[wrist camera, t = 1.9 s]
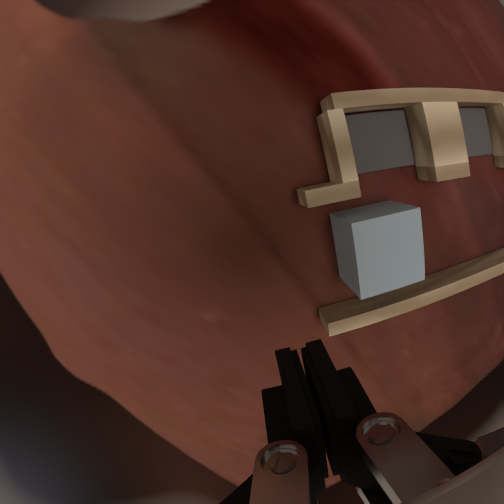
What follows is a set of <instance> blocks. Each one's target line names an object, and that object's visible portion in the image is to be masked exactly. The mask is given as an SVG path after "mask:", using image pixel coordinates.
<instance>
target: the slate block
mask: <svg viewBox="0 0 504 504" xmlns="http://www.w3.org/2000/svg"><path fill="white" fill-rule="evenodd" d="M329 214H330V220H331V225H332V231H333V237H334V243H335V249H336V256H337V262H338V269H339V276H340V278H341V279H342V280H343V281H344V282H345V283H346V284H347V286H348V287H349V288H350V289H351V290H352V291H353V292H354V293H355V294H356V295H357V296H358V297H359V298H360V299H361V300H362V299H366V298H369V297H372V296H376V295H379V294H382V293H385V292H389V291H392V290H395V289H398V288H401V287H404V286H407V285H410V284H413V283H416V282H419V281H422V280H425V266H424V247H423V233H422V222H421V212H420V207H416V206H412V205H408V204H403V203H399V202H395V201H390V200H388V201H383V202H379V203H374V204H369V205H365V206H360V207H356V208H351V209H347V210H342V211H338V212H333V213H329Z"/></svg>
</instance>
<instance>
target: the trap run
mask: <svg viewBox="0 0 504 504" xmlns="http://www.w3.org/2000/svg"><path fill="white" fill-rule="evenodd" d="M320 105H321V109H322V114H320V115H319V116H317V117H316V119H317V123H318V128H319V132H320V136H321V140H322V145H323V149H324V154H325V158H326V163H327V168H328V173H329V177H330V182H326V183H321V184H316V185H312V186H307V187H302V188H297V189H296V190H297V195H298V200H299V204H301V205H303V206H305V207H307V208H312V207H316V206H321V205H325V204H330V203H335V202H339V201H344V200H349V199H353V198H358V197H361V191H360V186H359V180H358V175H357V170H356V164H355V159H354V155H353V150H352V145H351V141H350V136H349V132H348V127H347V123H346V119H345V115H344V113H353V112H362V111H372V110H383V109H395V108H404V111H405V115H406V120H407V124H408V129H409V133H410V138H411V143H412V148H413V154H414V159H415V165H416V171H417V178H418V180H424V181H434V182H439V181H445V180H450V179H456V178H461V177H467V176H470V169H469V162H468V155H467V149H466V143H465V137H464V132H463V127H462V122H461V117H460V113H459V109H458V106H482V107H484V108H485V112H486V117H487V122H488V127H489V132H490V138H491V144H492V150H493V158H494V165H495V167H501V168H504V92H498V91H488V90H475V89H458V88H391V89H373V90H359V91H347V92H338V93H330V94H329V95H328V96H327V97H325V98H324V99H323V100H322V101H320ZM502 273H504V247H503V248H501V249H498V250H496V251H493V252H490V253H488V254H485V255H483V256H480V257H477V258H475V259H472V260H469V261H467V262H464V263H461V264H458V265H456V266H453V267H450V268H447V269H444V270H441V271H438V272H436V273H433V274H430V275H427V276H425V280H422V281H419V282H416V283H413V284H410V285H407V286H404V287H401V288H398V289H395V290H392V291H389V292H385V293H382V294H379V295H376V296H372V297H369V298H366V299H362V300H361V299H360V298H359V297H356V298H353V299H349V300H345V301H342V302H338V303H335V304H331V305H327V306H324V307H320V308H319V315H320V320H321V322H322V324H323V326H324V327H325V329H326V331H327V333H328V335H329V336H333V335H337V334H340V333H344V332H347V331H350V330H354V329H357V328H360V327H364V326H367V325H370V324H373V323H376V322H379V321H382V320H385V319H388V318H391V317H394V316H397V315H400V314H403V313H406V312H409V311H412V310H414V309H417V308H420V307H423V306H425V305H428V304H431V303H433V302H436V301H439V300H441V299H444V298H446V297H449V296H451V295H454V294H456V293H459V292H461V291H464V290H466V289H468V288H471V287H473V286H475V285H478V284H480V283H482V282H485V281H487V280H489V279H491V278H494V277H496V276H498V275H500V274H502Z"/></svg>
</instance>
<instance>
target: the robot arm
mask: <svg viewBox="0 0 504 504" xmlns="http://www.w3.org/2000/svg"><path fill="white" fill-rule="evenodd" d="M301 353H302V358H303V364H304V369H305V373H304V371H303V368H302V365H301V362H300V359H299V356H298V353H297V350H292V351H291V350H290V347H288V348H284V349H280V350H276V351H275V354H276V359H277V363H278V367H279V372H280V376H281V381H282V385H281V386H276V387H272V388H267V389H263V390H262V400H263V407H264V415H265V423H266V430H267V438H268V445H266V446H265V447H263V448H262V449H261V450H260V451H259V452H258V454H257V455H256V458H255V462H254V470H253V474H252V475H251V476H250V477H249V478H248V479H247V480H246V481H244V482H243V483H242V484H241V485H240V486H239V487H238V488H237V489H236V490H235V491H233V492H232V493H231V494H230V495H229V496H228V497H227V498H225V499H224V500H223V501H222V502H221V503H220V504H317V499H318V498H319V497H320V496H321V494H322V493H323V492H324V491H325V490H326V486H325V480H324V478H328V477H329V475H328V468H327V460H326V454H327V457H328V460H329V463H330V466H331V470H332V473H333V475H334V476H335V475H340V478H341V481H342V482H343V481H345V482H346V484H349V485H353V486H355V487H356V489H357V491H358V493H359V495H360V496H361V498H362V500H363V501H364V503H365V504H504V427H502V428H500V429H498V430H495V431H493V432H490V433H488V434H485V435H482V436H480V437H478V438H477V440H476V441H474V442H472V441H468V440H463V439H455V438H449V437H442V436H436V435H430V434H425V433H419V432H414V431H413V430H412V429H411V428H410V427H409V425H408V424H407V423H406V422H405V421H404V420H403V419H402V418H401V417H399V416H398V415H396V414H393V413H388V412H381V413H377V412H376V410H375V409H374V407H373V405H372V403H371V401H370V400H369V398H368V396H367V394H366V393H365V391H364V389H363V387H362V385H361V384H360V382H359V380H358V378H357V377H356V375H355V373H354V371H353V370H352V368H351V367H347V368H344V369H341V370H338V371H336V369H335V367H334V365H333V363H332V361H331V359H330V357H329V355H328V353H327V351H326V349H325V347H324V345H323V343H322V341H321V339H319V340H315V341H311V342H308V343H306V347H304V348H301ZM305 375H306V376H305ZM325 451H326V452H325Z"/></svg>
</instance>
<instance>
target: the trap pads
mask: <svg viewBox="0 0 504 504" xmlns="http://www.w3.org/2000/svg"><path fill="white" fill-rule="evenodd" d="M458 109H459V113H460V117H461V122H462V127H463V132H464V137H465V143H466V149H467V155H468V157H471V156H479V155H487V154H493V150H492V144H491V138H490V132H489V127H488V122H487V117H486V112H485V108H458ZM345 119H346V123H347V127H348V132H349V136H350V141H351V145H352V150H353V155H354V159H355V164H356V170H357V174H361V173H366V172H372V171H378V170H383V169H389V168H395V167H401V166H408V165H414V164H415V163H414V157H413V152H412V146H411V141H410V136H409V132H408V127H407V123H406V118H405V114H404V110H395V111H383V112H372V113H363V114H354V115H345Z"/></svg>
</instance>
